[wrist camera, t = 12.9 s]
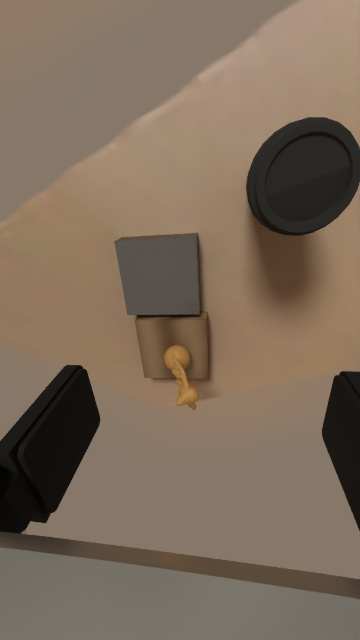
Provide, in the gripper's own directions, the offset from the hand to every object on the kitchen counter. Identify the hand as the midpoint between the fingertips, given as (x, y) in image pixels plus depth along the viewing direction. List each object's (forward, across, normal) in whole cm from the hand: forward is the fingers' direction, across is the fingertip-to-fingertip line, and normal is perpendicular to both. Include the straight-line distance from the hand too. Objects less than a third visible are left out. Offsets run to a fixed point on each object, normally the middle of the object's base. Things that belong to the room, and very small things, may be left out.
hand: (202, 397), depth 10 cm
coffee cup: (+31, -7, -7) cm, 32 cm away
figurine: (+28, +5, +16) cm, 32 cm away
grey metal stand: (+30, +8, +4) cm, 32 cm away
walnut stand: (+30, +7, +16) cm, 35 cm away
